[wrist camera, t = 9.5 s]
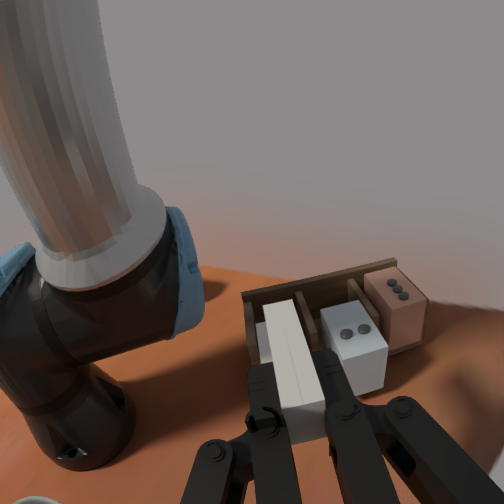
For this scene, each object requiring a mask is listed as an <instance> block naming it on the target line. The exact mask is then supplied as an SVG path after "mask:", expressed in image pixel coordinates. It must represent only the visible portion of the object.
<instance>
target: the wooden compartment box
mask: <svg viewBox="0 0 504 504" xmlns="http://www.w3.org/2000/svg"><path fill="white" fill-rule="evenodd" d="M394 266H395V267H396V268H397V260H396V259H395V258H390V259H386V260H382V261H378V262H374V263H370V264H366V265H361V266H358V267H353V268H349V269H345V270H341V271H337V272H332V273H328V274H323V275H319V276H315V277H310V278H306V279H301V280H297V281H292V282H288V283H283V284H278V285H274V286H269V287H264V288H260V289H255V290H250V291H245V292H241V295H242V300H243V305H244V317H245V329H246V340H247V349H248V352H249V355H250V359H251V362H252V365H257V364H261V360H260V353H259V345H258V338H257V330H256V324H257V323H262V322H266V320H265V315H264V309H263V305H267V304H272V303H277V302H281V301H286V300H291V299H292V301H293V304H294V307H295V310H296V313H297V316H298V319H299V322H300V325H301V328H302V331H303V334H304V337H305V340H306V343H307V346H308V349H309V352H314V351H318V350H322V349H324V347H323V335H322V323H321V312H320V309H324V308H328V307H332V306H336V305H340V304H344V303H348V302H352V301H356V300H359V301H360V303H361V304H362V306H363V307H364V309H365V310H366V312H367V313H368V315H369V316H370V318H371V320H372V321H373V323H374V324H375V326H376V327H377V329H378V330H379V314H378V313H377V311H376V310H375V309H374V307H373V306H372V304H371V303H370V301H369V300H368V299H367V297H366V296H365V294H364V274H367V273H371V272H375V271H379V270H383V269H387V268H390V267H394ZM397 269H398V268H397ZM398 270H399V269H398ZM399 271H400V270H399ZM400 272H401V271H400ZM401 273H402V272H401ZM402 274H403V273H402ZM403 275H404V274H403ZM404 276H405V275H404ZM405 277H406V276H405ZM406 278H407V277H406ZM407 279H408V278H407ZM408 280H409V279H408ZM409 281H410V280H409ZM410 282H411V281H410ZM411 283H412V282H411ZM412 284H413V283H412ZM413 285H414V284H413ZM414 286H415V285H414ZM415 287H416V286H415ZM416 288H417V287H416ZM417 289H418V288H417ZM418 290H419V289H418ZM419 292H420V293H421V294H422V295H423V296H424V297H425V298H426V307H425V314H424V321H423V327H422V333H421V339H420V340H419V341H417V342H414V343H411V344H408V345H405V346H402V347H400V348H397V349H394V350H391V351H388V355H387V357H388V356H391V355H394V354H397V353H400V352H403V351H406V350H408V349H411V348H414V347H417V346H419V345H422V341H423V336H424V330H425V324H426V318H427V311H428V304H429V299H428V298H427V297H426V296H425V295H424V294H423V293H422V292H421V291H420V290H419Z"/></svg>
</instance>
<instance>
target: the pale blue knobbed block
mask: <svg viewBox="0 0 504 504" xmlns="http://www.w3.org/2000/svg"><path fill="white" fill-rule="evenodd" d="M320 312H321V323H322V335H323V347H324V349H326V348H330V349H332V350H333V351H334V352H335V353H336V354H337V355H338V357H339V360H340V362H341V364H342V367H343V369H344V371H345V374H346V376H347V379H348V381H349V383H350V386H351V388H352V391H353V393H354V395H355V396H358V395H362V394H365V393H368V392H371V391H374V390H377V389H380V388H383V385H384V378H385V371H386V363H387V355H388V345H387V343H386V341H385V340H384V338H383V337H382V335H381V334H380V332H379V330H378V329H377V327H376V326H375V324H374V323H373V321H372V320H371V318H370V316H369V315H368V313H367V312H366V310H365V309H364V307H363V306H362V304H361V303H360V301H359V300H356V301H352V302H348V303H344V304H340V305H336V306H332V307H328V308H324V309H320Z"/></svg>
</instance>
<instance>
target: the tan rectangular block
mask: <svg viewBox="0 0 504 504" xmlns="http://www.w3.org/2000/svg"><path fill="white" fill-rule="evenodd" d="M364 294H365V296H366V297H367V299H368V300H369V301H370V303H371V304H372V306H373V307H374V309H375V310H376V311H377V313H378V314H379V332H380V334H381V335H382V337H383V338H384V340H385V341H386V343H387V345H388V351H391V350H394V349H397V348H400V347H402V346H405V345H408V344H411V343H414V342H417V341H419V340H420V339H421V333H422V327H423V321H424V314H425V307H426V298H425V297H424V296H423V295H422V294H421V293H420V292H419V290H418V289H417V288H416V287H415V286H414V285H413V284H412V283H411V282H410V281H409V280H408V279H407V278H406V277H405V276H404V275H403V274H402V273H401V272H400V271H399V270H398V269H397V268H396V267H395V266H394V267H390V268H387V269H383V270H379V271H375V272H371V273H367V274H364Z"/></svg>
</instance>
